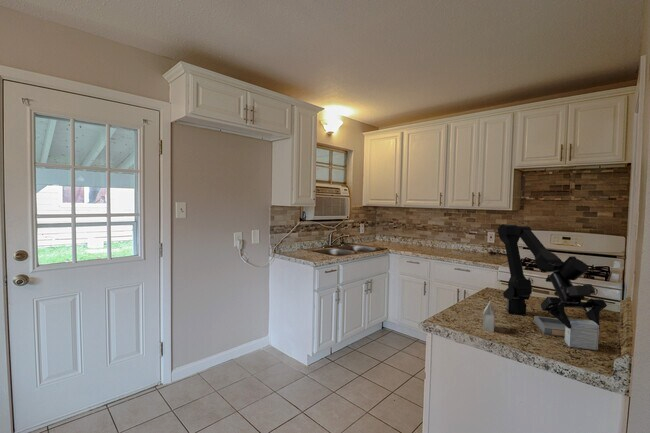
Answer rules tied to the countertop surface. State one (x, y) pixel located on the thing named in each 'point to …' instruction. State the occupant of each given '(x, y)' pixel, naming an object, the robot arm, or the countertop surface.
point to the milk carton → (489, 318)
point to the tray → (550, 326)
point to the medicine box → (582, 334)
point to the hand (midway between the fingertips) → (584, 328)
